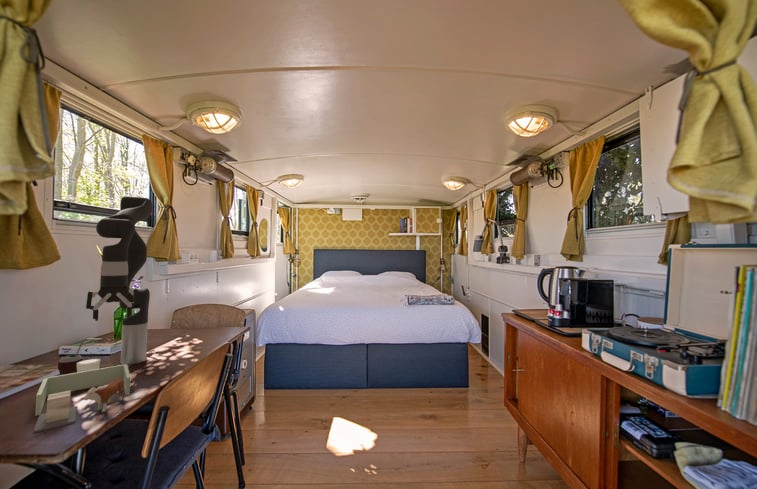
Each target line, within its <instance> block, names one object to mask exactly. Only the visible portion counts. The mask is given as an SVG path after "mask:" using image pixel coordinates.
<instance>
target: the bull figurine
mask: <svg viewBox="0 0 757 489" xmlns="http://www.w3.org/2000/svg"><path fill="white" fill-rule="evenodd" d="M123 383H124V382H123V380H121V379H120V378H117V379H116V380H114V381H112V382H110V383H108V384H106V385H101V386H97V387H91V388H89V390H88V391H87V392H86V394H85V395H84V397H83V400H84V401H88V400H91V401H94V402H95V403H96V405H97V408H96V412H98V411H101V413H105V412H106V411H107V405H109V404H111V402H112V398H114V397H115V395H119V398H118V402H121V401H123V398H124V397H123V394H124V391H123V389H124V384H123ZM118 393H119V394H118ZM102 405H103V406H102Z"/></svg>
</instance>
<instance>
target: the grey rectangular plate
mask: <svg viewBox="0 0 757 489" xmlns="http://www.w3.org/2000/svg"><path fill="white" fill-rule="evenodd" d="M77 410H78V405H77V406H76V405H75V406H70V413H69V418H65V419H61V420H57V421H53V422H49V423H46V413H47V412H45V413H41V414H40V415H38V418H37V421H36V423H35V426H34V429H33V434H34V433H39V432H43V431H48V430H52V429H56V428H60V427H63V426H68V425H71V424H75V423H76V419H77Z"/></svg>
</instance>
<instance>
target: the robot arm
mask: <svg viewBox="0 0 757 489" xmlns="http://www.w3.org/2000/svg"><path fill="white" fill-rule="evenodd" d="M119 204H120V205H119V206H120V208H119V209H120V211H118V212H117V213H115V214H113V215H109V216H105V217H102V218H100V220H99V221H97V224H96V228H95V230H96V233H97V234H98V235H99V236H100V237H102V238H106V239H120V240H119V242H117V243H113V244H106V245H105V246H104V245H103V248H102V253H101V254H102V256H101V258H102V260H101V265H100V273H99V274H100V279H99V280H100V282H99V289H98V290H97V291H93V290H88V292H87V297H86V304H85V308H86V309H87V310H92V319H93V320H94V321H96V322H97V321H99V310H100V309H99V308H101V306H102V305H103V304H104V303H105V302H106V303H107V304H108V303H119V307H120V309H122V310H126V316H125V317H123V318H122V321H121V322H122V327H121V346H120V365H124V364H127V365H134V364H135V365H136V364H140V363H143V362H145V361H146V360H147V350H148V349H147V347H148V346H147V345H148V325H149V324H148V323H149V322H148V321H149V306H150V298H151V297H150V296H151V295H150V294H151V293H150V289H149V288H146V287H144V288H139V287H138V288H130V286H131V283H132V281H133V280H134V278H135V276H136V275H137V273H139V271H140V270H141V269H142V268H143V266H144V265H145V264H146V263H147V262H146V261H147V257H148V256H147V254H148V248H147V244H146V243H145V240H144V239H142V237H141V236H140V234H139V233H138V232H137V230H136V224H137V223H139V222H141V221H144V220H145V219H147V218H150V217H151V215H152V213H153V202H152V200H151V199H150V198H147V197H143V196H141V197H140V196H132V195H130V196H129V195H123V196H122V197H121V199H120V203H119ZM97 295H98V296H99V297H100V299H99V300H98V302H97V303H95V305H92V302H93V298H96V296H97ZM133 309H134V310H135V309H139V311H138V312H136V313H134V314H133Z"/></svg>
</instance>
